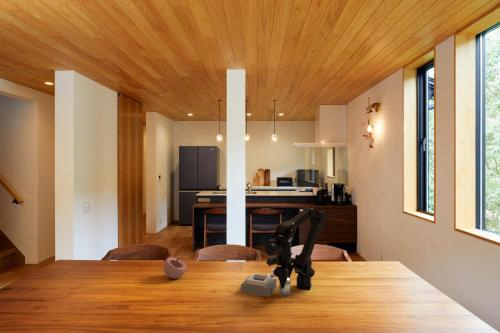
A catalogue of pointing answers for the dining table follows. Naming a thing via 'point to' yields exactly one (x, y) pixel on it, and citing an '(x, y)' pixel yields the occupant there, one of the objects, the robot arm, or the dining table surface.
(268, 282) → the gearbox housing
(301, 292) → the dining table surface
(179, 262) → the mortar and pestle
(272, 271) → the teacup and saucer
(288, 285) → the metal can
